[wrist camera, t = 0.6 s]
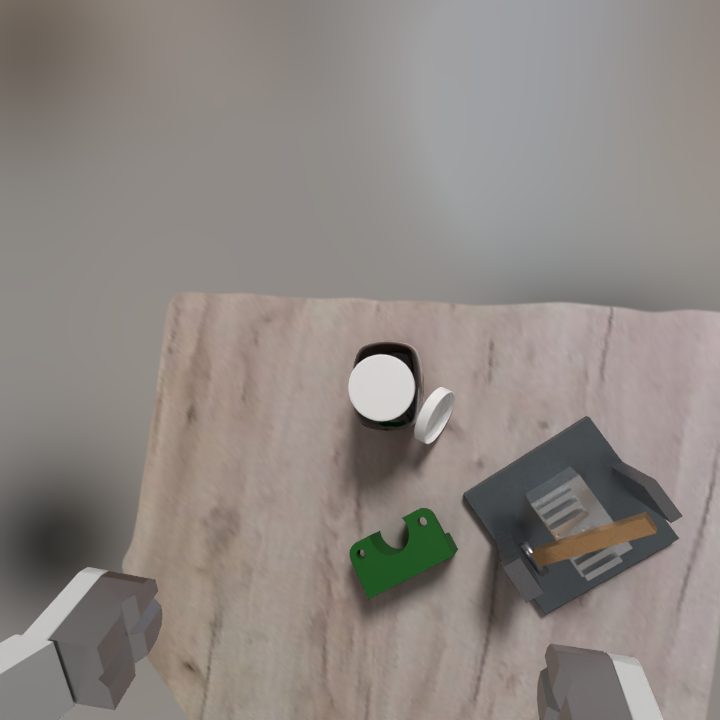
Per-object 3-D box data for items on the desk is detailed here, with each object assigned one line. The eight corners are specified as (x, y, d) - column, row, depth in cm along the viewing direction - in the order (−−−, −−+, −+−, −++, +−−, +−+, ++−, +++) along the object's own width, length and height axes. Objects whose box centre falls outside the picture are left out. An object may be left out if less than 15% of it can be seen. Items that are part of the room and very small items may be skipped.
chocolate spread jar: (363, 344, 59) (343, 338, 47) (454, 343, 57) (455, 337, 45) (364, 438, 59) (344, 455, 47) (454, 440, 57) (456, 459, 45)
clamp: (426, 506, 61) (440, 497, 53) (448, 550, 59) (467, 547, 51) (344, 549, 59) (346, 546, 51) (365, 596, 57) (371, 601, 48)
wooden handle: (663, 536, 42) (663, 543, 41) (540, 570, 49) (537, 577, 48) (638, 501, 42) (638, 508, 41) (520, 541, 50) (517, 548, 49)
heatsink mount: (673, 534, 52) (724, 572, 42) (543, 608, 54) (563, 660, 45) (586, 416, 54) (615, 426, 44) (463, 493, 56) (466, 518, 47)
